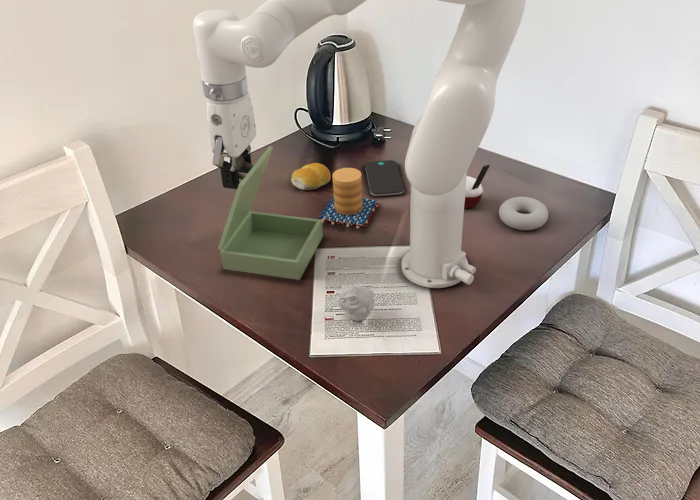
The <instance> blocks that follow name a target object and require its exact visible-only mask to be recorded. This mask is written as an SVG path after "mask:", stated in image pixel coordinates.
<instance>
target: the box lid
mask: <svg viewBox="0 0 700 500" xmlns="http://www.w3.org/2000/svg"><path fill="white" fill-rule="evenodd" d="M273 149H274V147H273V146H272V145H269V146H268V147H267V148H266V149H265V151H264V152H263V154H262V155H261V156H260V157H259V158H258V160H257V161H256V162H255V163H254V164H250V163H248V162H246V161H245V159H244V157H243V156H241V155H240V156H238V157H237V158H235V169H238V170H239V169H240V168H241V167H242V166H245V167H247V168H249V169H251V170H250V171H249V172H248V173H246V175H245V174H243V173H240V172H238V175H239V180H241V181H239V182H240V184H239V186H238V189H236V193H235V195H234V198H233V201H232V204H231V208H230V211H229V214H228V216H227V220H226V223H225V226H224V229H223V232H222V235H221V238H220V242H219V245H218V248H217V249H218V250H219V251H220V252H221V251H222V250H223V248H224V247H225V245H226V244H227V243H228V241H229V240H230V239H231V237H232V236H233V234H234V233H235V232H236V230H237V229H238V227H239V226H240V225H241V223H242V222H243V221H244V219H245V218H246V216H247V215H248V214H249V212H250V211H252V209H253V206H254V203H255V200H256V198H257V194H258V192H259V189H260V186H261V184H262V181H263V177H264V175H265V172H266V169H267V166H268V163H269V161H270V158H271V155H272V152H273Z"/></svg>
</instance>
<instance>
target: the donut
mask: <svg viewBox="0 0 700 500" xmlns="http://www.w3.org/2000/svg"><path fill="white" fill-rule="evenodd" d="M498 215H499V219H500V220H501V221H502V223H504V224H505V225H506V226H508V227H509V228H511V229H515V230H518V231H533V230H537V229H539V228H541V227H542V226H544V225H545V224H546V223H547V221H548V219H549V211H548V208H547V206H546V205H545V204H544V203H543V202H542V201H540V200H538V199H536V198H533V197H529V196H515V197H511V198H508V199H506V200H504V202H502V204H500V206H499V210H498Z"/></svg>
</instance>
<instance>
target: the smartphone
mask: <svg viewBox="0 0 700 500" xmlns="http://www.w3.org/2000/svg"><path fill="white" fill-rule="evenodd" d="M364 167H365V172H366V177H367V182H368V187H369V192H370V194H371V195H372V196H374V197H388V196H390V197H391V196H399V195H402V194H403V193H405V187H404V183H403V180H402V176H401V173H400V169H399V166H398V163H397V162H396V161H395V160H393V159H391V160H390V159H387V160H386V159H385V160H373V161H368V162H367V163H365V166H364Z"/></svg>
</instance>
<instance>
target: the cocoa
mask: <svg viewBox="0 0 700 500" xmlns="http://www.w3.org/2000/svg"><path fill="white" fill-rule="evenodd" d="M490 167H491V165H490V164H485V165H483V166H482V168H481V170H480V171H479V173H478V175H477V178H475V177H472V176H469V175H467V178H466V192H465V202H464V209H472V208H475V207H476V206H477V205H479V203H480V202H481V199H482V197H483V193H484V189H483V186H482V181H483V180H484V179H485V176H486V174H487V172H488V171H489V168H490Z"/></svg>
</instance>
